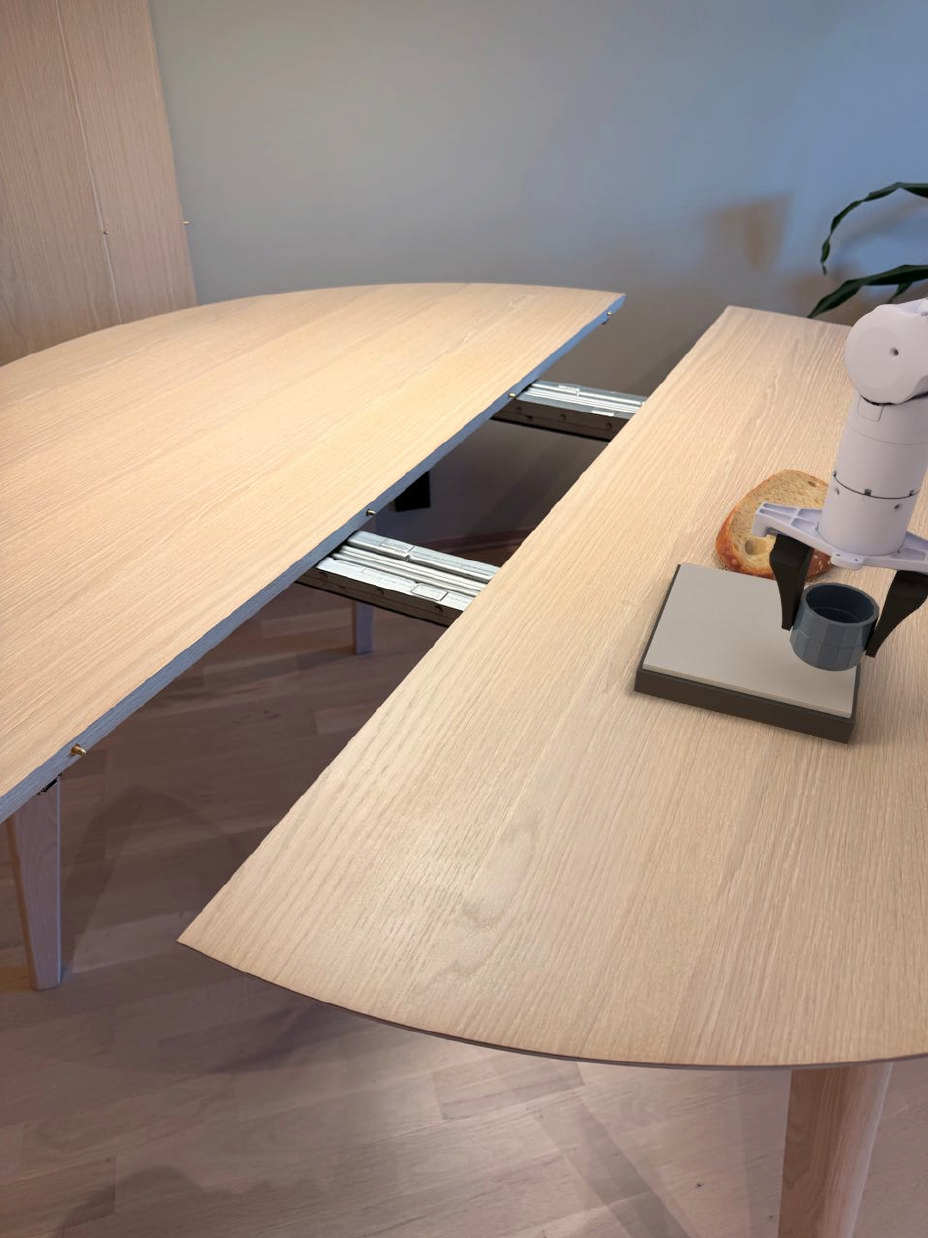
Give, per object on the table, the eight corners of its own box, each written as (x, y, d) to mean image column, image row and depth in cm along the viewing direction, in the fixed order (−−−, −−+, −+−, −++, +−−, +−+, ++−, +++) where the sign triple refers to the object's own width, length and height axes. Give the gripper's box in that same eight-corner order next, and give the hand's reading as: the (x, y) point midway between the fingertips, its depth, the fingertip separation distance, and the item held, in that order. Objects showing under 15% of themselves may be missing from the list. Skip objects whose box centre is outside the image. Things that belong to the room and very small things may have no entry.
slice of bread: (808, 481, 107) (815, 451, 105) (906, 566, 94) (917, 534, 91) (662, 501, 104) (666, 471, 101) (742, 593, 90) (749, 560, 88)
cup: (879, 662, 72) (896, 615, 70) (821, 681, 70) (836, 633, 68) (829, 621, 76) (843, 575, 74) (773, 638, 75) (785, 592, 72)
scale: (850, 744, 74) (859, 718, 72) (633, 691, 79) (637, 665, 77) (862, 622, 86) (870, 597, 85) (674, 582, 91) (678, 558, 90)
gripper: (753, 475, 65) (720, 633, 73) (983, 534, 59) (919, 698, 67) (783, 436, 69) (749, 587, 78) (998, 486, 64) (937, 645, 72)
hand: (829, 636), depth 73 cm, fingers closed on cup, 6 cm apart
